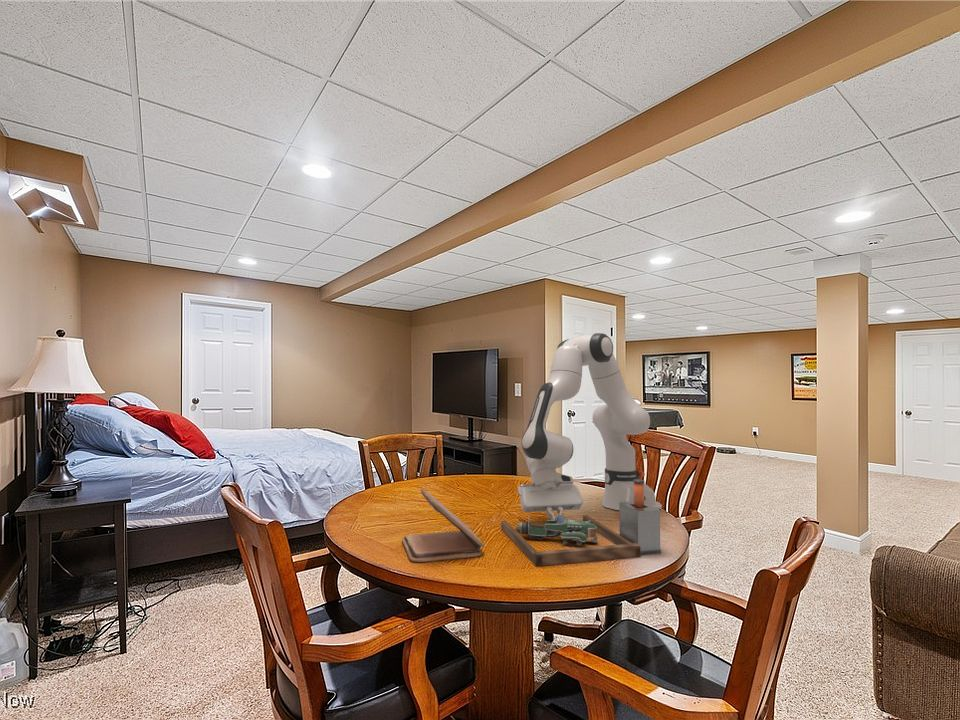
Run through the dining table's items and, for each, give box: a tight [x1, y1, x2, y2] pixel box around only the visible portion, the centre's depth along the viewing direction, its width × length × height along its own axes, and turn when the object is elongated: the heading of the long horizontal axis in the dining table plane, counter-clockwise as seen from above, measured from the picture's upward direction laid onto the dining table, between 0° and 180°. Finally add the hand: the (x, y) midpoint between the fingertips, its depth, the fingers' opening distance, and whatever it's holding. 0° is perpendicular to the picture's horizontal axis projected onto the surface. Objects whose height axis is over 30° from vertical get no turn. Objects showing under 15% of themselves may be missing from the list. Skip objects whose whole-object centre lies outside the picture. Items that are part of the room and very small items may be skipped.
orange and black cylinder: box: [633, 479, 646, 508], centre depth 141 cm, size 3×3×8 cm
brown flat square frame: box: [500, 514, 642, 567], centre depth 145 cm, size 30×32×3 cm
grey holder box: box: [618, 502, 662, 556], centre depth 140 cm, size 7×10×12 cm
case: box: [401, 488, 485, 563], centre depth 140 cm, size 20×21×16 cm
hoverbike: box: [513, 513, 598, 547], centre depth 146 cm, size 10×25×8 cm, turn 78°
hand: (557, 521), depth 150 cm, fingers closed
